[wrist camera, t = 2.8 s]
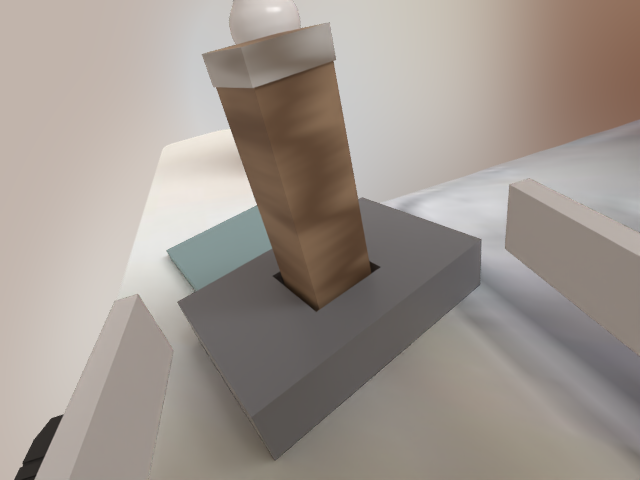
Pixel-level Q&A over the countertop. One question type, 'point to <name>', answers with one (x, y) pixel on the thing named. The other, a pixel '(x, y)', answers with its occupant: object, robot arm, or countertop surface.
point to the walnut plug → (296, 156)
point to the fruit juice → (262, 18)
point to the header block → (329, 322)
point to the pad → (221, 248)
